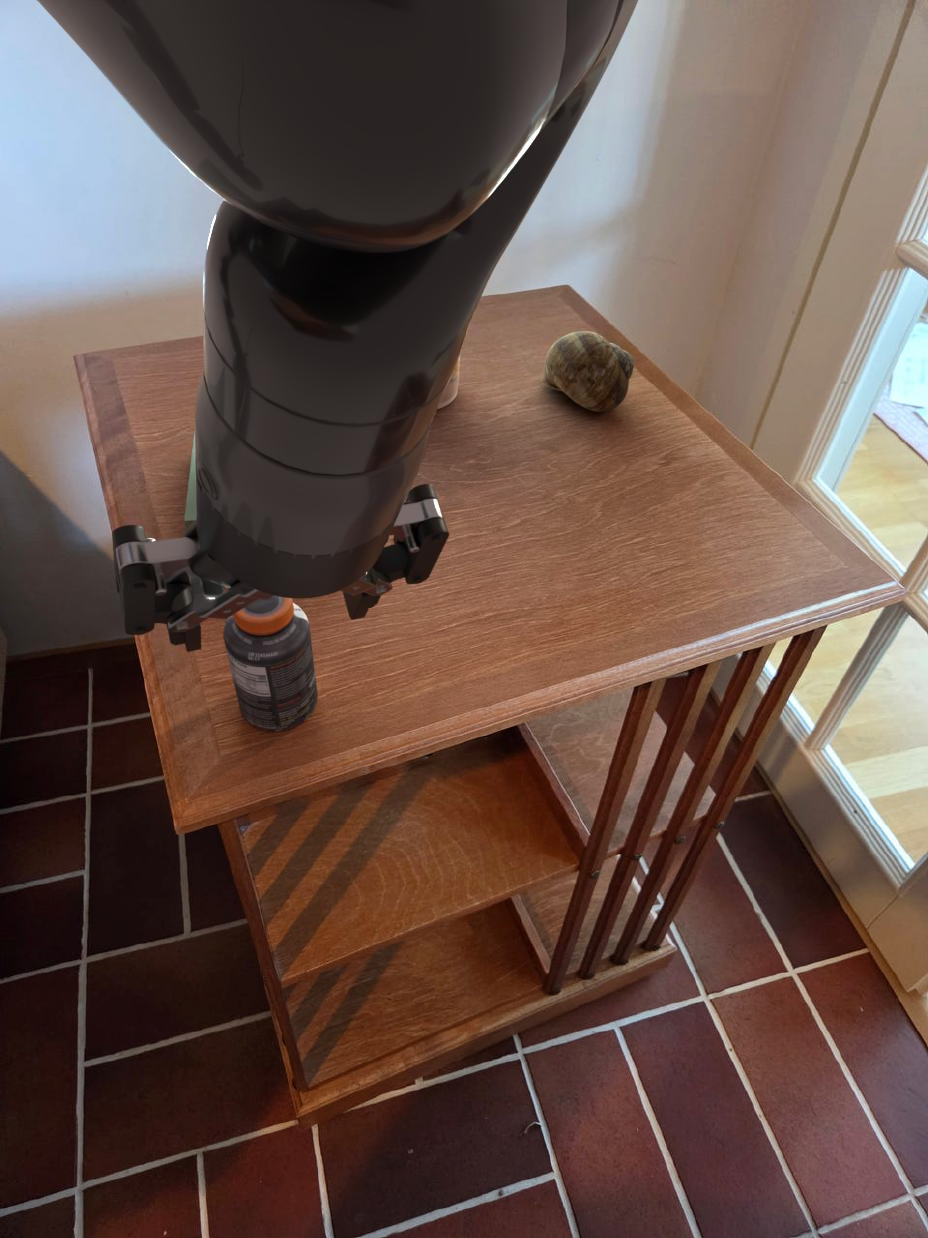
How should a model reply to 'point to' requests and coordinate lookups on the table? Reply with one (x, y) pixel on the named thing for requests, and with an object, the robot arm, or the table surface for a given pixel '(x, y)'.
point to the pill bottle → (272, 663)
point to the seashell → (588, 370)
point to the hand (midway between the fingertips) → (273, 617)
